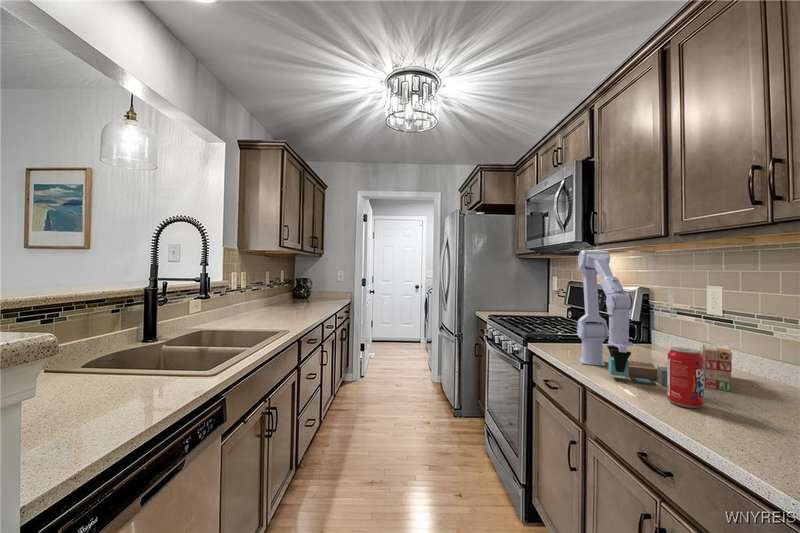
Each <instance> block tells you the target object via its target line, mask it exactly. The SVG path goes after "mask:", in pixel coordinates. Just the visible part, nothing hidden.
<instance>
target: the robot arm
mask: <svg viewBox="0 0 800 533" xmlns="http://www.w3.org/2000/svg"><path fill="white" fill-rule="evenodd" d="M610 261H611V256H610V252H609V251H608V250H606V249H605V250H604V249H603V250H584V249H583V250H580V251H579V253H578V256H577V264H578V267H577V268H578V272H579V273H581V274H582V279H583V280H582V282H583V300H584V315H582V316H581V317H580V318H578V320H577V326H576V327H577V328H576V334H577V337H578V338H579V339H580V340H581V356H580V357H579V361H580V363H581V364H582V365H591V366H600V367H605V366H606V364H605V362H604V361H603V357H604V356H603V355H604V354H603V353H604V352H603V351H604V347H603V346H604V345H603V344H604V342H605V341H606V340H607V338H608V341H607V343H608V344H607V345H606V347H607V349H608V351H609V353H610V354H609V355H610V357H614V362H615V368H616V371H617V372H624V370H625V366H626V363H627V360H628V361H629V358H630V357H631V355H632V351H627V350H628V347H630V346H633V345H634V343H633V342H632V341H631V342H630V341H629V340H630V332H629V331H630V311H631V310H632V309H633V307H634V298H633V295H632V294H631V293H630V292H628V291H627V290H624V287H623V286H622V284H621V281H620V280H619V278H618V277H617V276H614V275H613V273H612V270H611V268H610ZM598 275H599V277H600V279H601V282H600V286H601V288H602V290H603V293H604V294H605V297H606V298H605V299H606V300H605V305H606V309H607V315H608V324H607V320H606V319H605V318H603V317H602V316H601V315H600V307H599V292H598V291H599V289H598Z"/></svg>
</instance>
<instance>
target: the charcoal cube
mask: <svg viewBox="0 0 800 533" xmlns="http://www.w3.org/2000/svg"><path fill="white" fill-rule="evenodd" d="M656 369H657V381H656V382H657V383H658V384H659V385H660V386H661V387H667V366H656Z"/></svg>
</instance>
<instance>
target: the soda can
mask: <svg viewBox="0 0 800 533" xmlns="http://www.w3.org/2000/svg"><path fill="white" fill-rule="evenodd" d="M666 355H667V360H666V363H667V364H666V367H667V386H666V398H667V400H668V401H669V402H671V403H672V404H673V405H676V406H677V407H682V408H687V409H697V408H701V407H703V406H704V403H705V399H704V398H705V397H704V396H705V392H704V391H705V389H704V388H705V387H704V357H703V356H702V355H701V350H698V349H695V348H689V347H682V346H679V347H678V346H672V347H670V350H669V351H668V352H667V354H666Z"/></svg>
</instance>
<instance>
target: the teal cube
mask: <svg viewBox="0 0 800 533" xmlns="http://www.w3.org/2000/svg"><path fill="white" fill-rule="evenodd" d="M629 361H630V360H629V359H628V360H627V363H626V366H625V370H624V372H617V371H616V368H615V362H614V357H611V356H608V373H609V374H610V376H616V377H625V378H629Z"/></svg>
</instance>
